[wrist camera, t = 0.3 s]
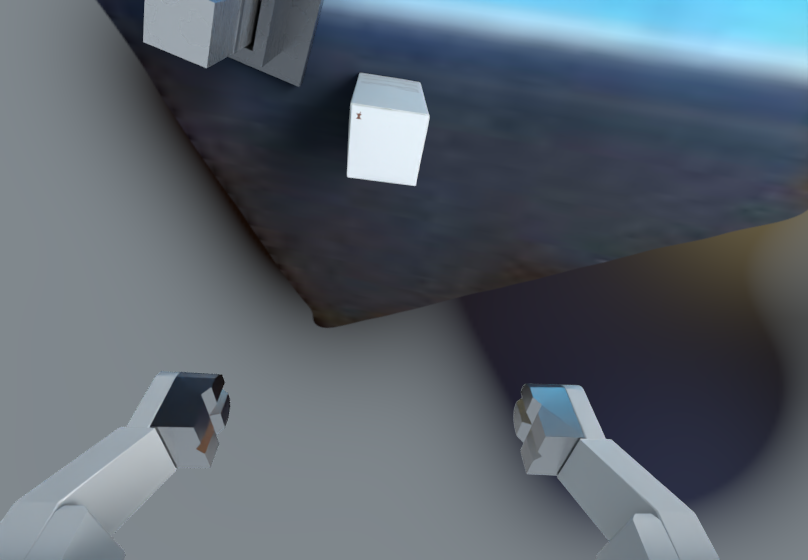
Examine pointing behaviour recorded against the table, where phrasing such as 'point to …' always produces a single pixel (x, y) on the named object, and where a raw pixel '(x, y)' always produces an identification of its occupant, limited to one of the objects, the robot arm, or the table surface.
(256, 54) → the stand
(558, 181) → the table surface
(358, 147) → the supplement box
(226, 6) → the column
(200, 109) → the table surface
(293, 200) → the table surface
